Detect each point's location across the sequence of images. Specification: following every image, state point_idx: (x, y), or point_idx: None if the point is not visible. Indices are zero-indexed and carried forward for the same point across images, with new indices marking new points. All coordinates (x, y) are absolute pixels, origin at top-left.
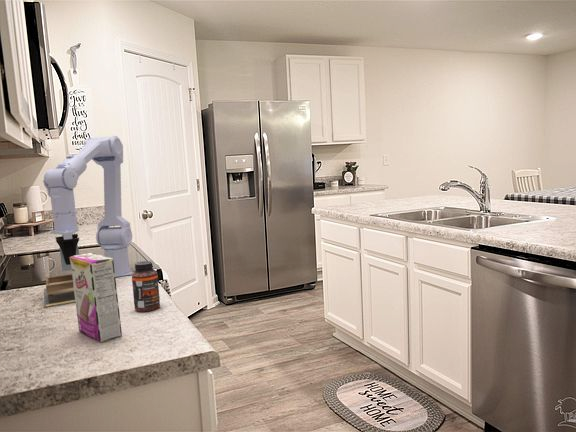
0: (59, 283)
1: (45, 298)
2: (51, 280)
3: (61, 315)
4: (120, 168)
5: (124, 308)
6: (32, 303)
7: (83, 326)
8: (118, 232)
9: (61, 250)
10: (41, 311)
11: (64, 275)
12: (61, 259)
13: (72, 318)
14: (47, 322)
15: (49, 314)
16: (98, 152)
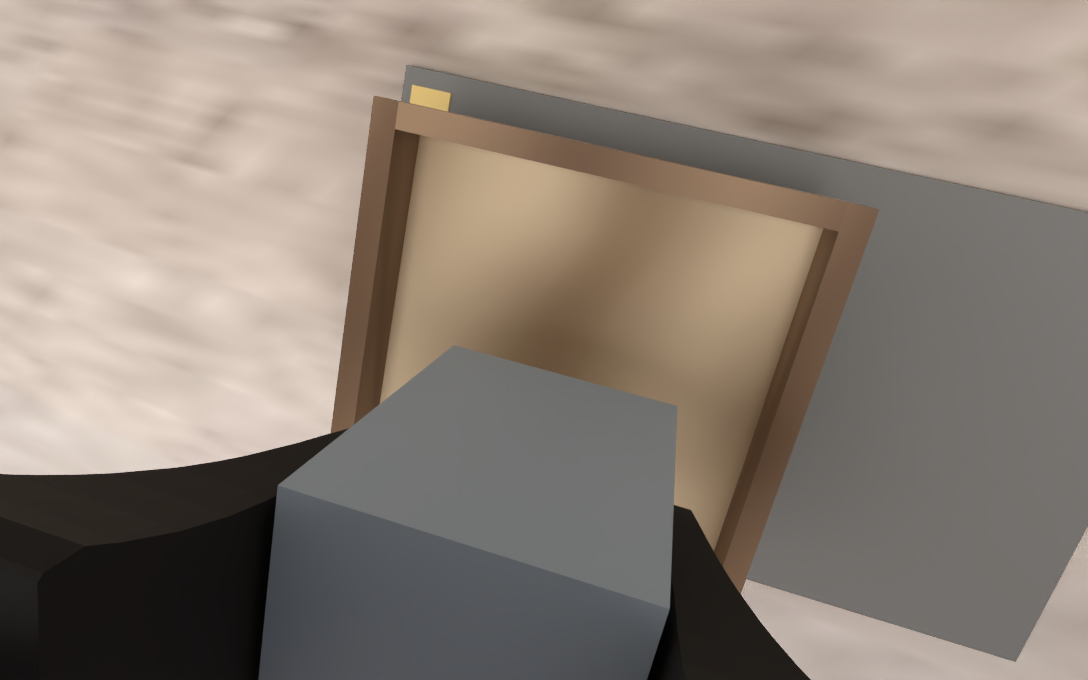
0: (693, 307)
1: (713, 144)
2: (819, 258)
3: (118, 125)
4: None
5: (23, 457)
6: (682, 12)
7: None
8: None
9: (297, 494)
10: (329, 27)
11: (795, 415)
12: (381, 404)
13: (9, 163)
14: (19, 6)
15: (200, 61)
16: None
